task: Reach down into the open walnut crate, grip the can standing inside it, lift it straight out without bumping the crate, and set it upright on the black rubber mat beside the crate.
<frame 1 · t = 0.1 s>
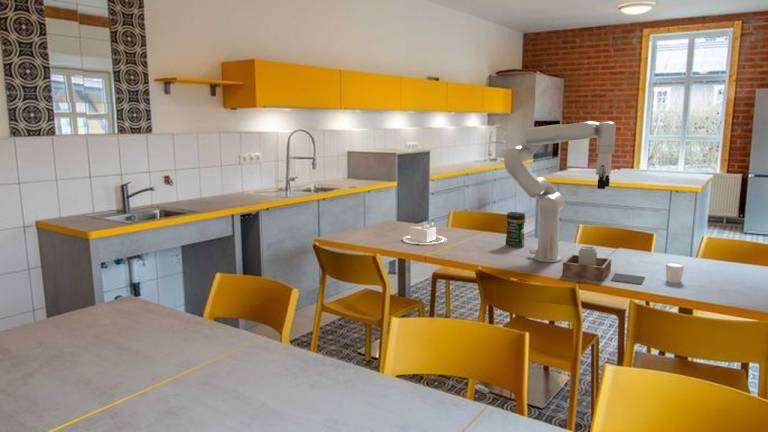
hand: (603, 187, 259), 37 cm above the table, tool pointing down, fingers open, 9 cm apart
coffee jar: (514, 246, 307), on the table
crate: (586, 273, 252), on the table
can: (586, 274, 252), resting in crate
shot glass: (673, 281, 241), on the table
mat: (627, 279, 244), on the table
dish: (424, 241, 322), on the table
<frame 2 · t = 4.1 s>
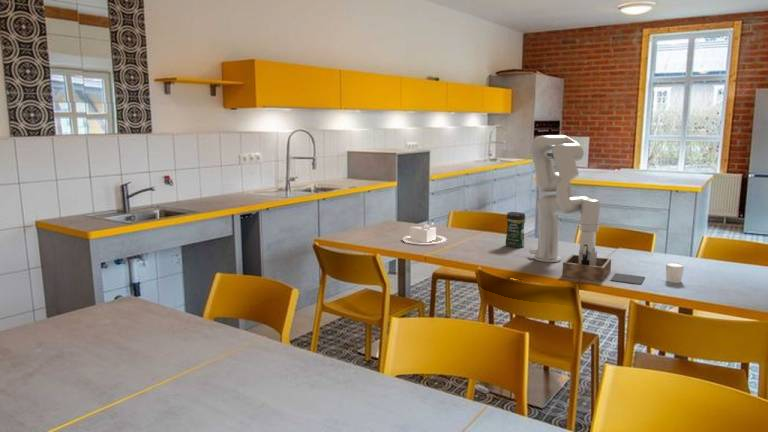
hand: (587, 266, 252), 3 cm above the table, tool pointing down, fingers closed on can, 7 cm apart
can: (586, 274, 252), resting in crate, touching gripper
everything else where it was.
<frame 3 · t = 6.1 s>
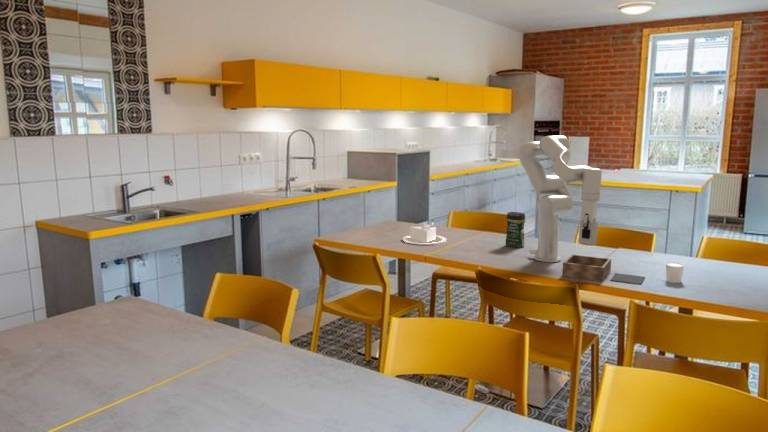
hand: (587, 236, 250), 17 cm above the table, tool pointing down, fingers closed on can, 7 cm apart
can: (587, 244, 251), point 13 cm above the table, touching gripper
everything else where it was.
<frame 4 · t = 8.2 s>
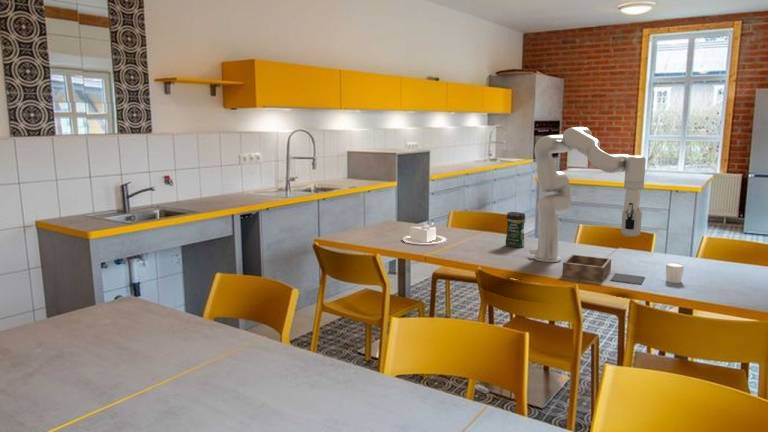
hand: (631, 227, 240), 23 cm above the table, tool pointing down, fingers closed on can, 7 cm apart
can: (630, 235, 240), point 19 cm above the table, touching gripper
everything else where it was.
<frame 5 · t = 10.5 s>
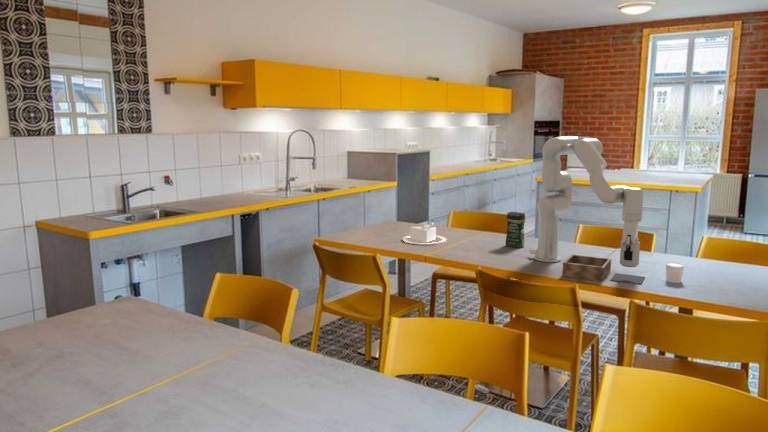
hand: (629, 257, 242), 9 cm above the table, tool pointing down, fingers closed on can, 7 cm apart
can: (629, 266, 243), point 6 cm above the table, touching gripper
everything else where it was.
when the fingers open (5 cm above the table, at t = 12.5 s): can drops 1 cm, resting on mat.
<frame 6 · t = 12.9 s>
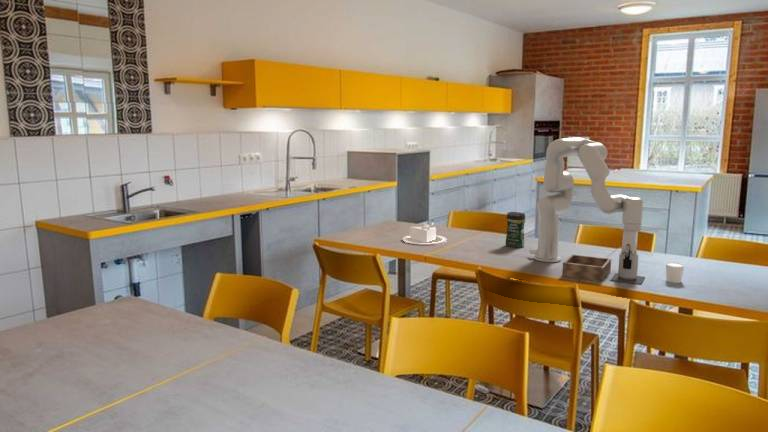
hand: (628, 266, 243), 6 cm above the table, tool pointing down, fingers open, 9 cm apart
can: (627, 278, 244), resting on mat
everything else where it was.
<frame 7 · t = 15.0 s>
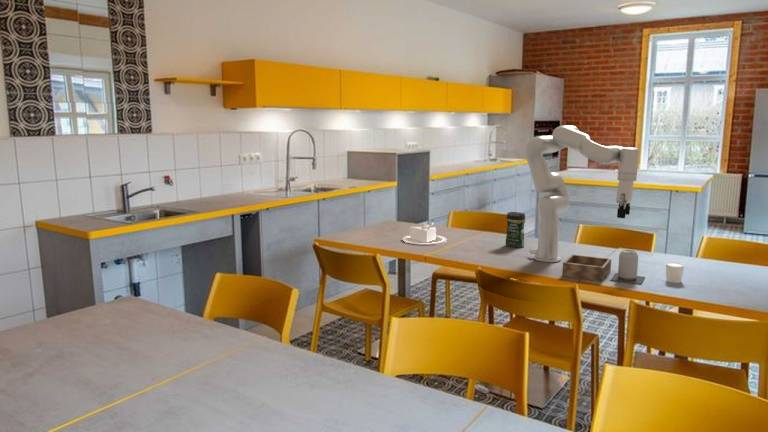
hand: (623, 216, 246), 26 cm above the table, tool pointing down, fingers open, 9 cm apart
nothing on the table moved.
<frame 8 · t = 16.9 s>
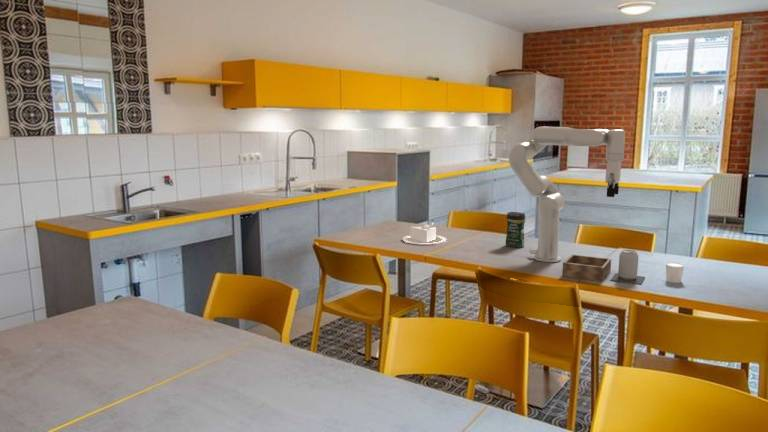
hand: (612, 195, 258), 33 cm above the table, tool pointing down, fingers open, 9 cm apart
nothing on the table moved.
at the end: can inside the target area on the mat (0.4 cm from its centre), point 0.2 cm above the mat's base; can tilted 0°; crate moved 0.0 cm from its start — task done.
